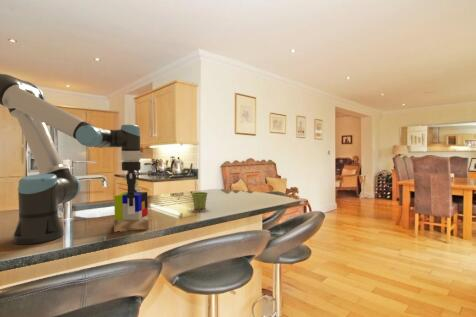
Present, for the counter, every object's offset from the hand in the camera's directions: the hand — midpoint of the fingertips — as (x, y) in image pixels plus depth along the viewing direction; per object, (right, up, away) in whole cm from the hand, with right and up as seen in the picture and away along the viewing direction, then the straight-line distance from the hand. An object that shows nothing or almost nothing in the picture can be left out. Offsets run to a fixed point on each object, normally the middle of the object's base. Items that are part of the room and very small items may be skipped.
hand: (131, 210), depth 117 cm
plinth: (0, -7, 0) cm, 7 cm away
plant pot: (+24, -6, +38) cm, 45 cm away
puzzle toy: (0, -3, 0) cm, 3 cm away
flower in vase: (-6, -7, +21) cm, 23 cm away
